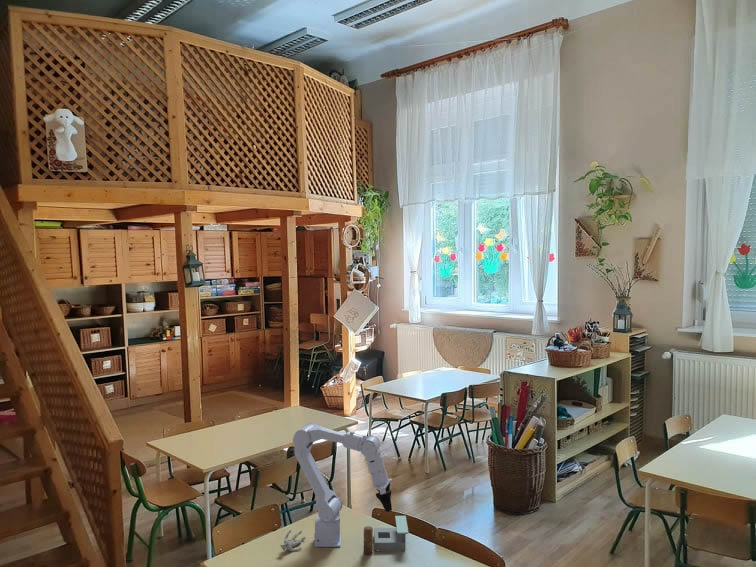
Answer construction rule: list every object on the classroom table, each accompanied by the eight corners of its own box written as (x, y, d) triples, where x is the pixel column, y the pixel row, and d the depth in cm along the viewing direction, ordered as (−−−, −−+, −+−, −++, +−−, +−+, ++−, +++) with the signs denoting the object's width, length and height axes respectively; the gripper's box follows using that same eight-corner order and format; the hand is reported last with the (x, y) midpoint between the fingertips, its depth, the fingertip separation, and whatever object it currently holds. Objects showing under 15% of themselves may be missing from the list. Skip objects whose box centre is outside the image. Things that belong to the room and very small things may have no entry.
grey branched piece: (310, 544, 204) (297, 550, 193) (300, 553, 204) (286, 559, 193) (298, 526, 207) (285, 530, 196) (289, 534, 207) (275, 539, 196)
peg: (363, 555, 195) (363, 530, 194) (363, 550, 198) (363, 526, 198) (372, 555, 195) (372, 530, 195) (372, 550, 198) (372, 526, 198)
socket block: (374, 552, 197) (375, 532, 197) (374, 534, 210) (374, 515, 210) (408, 552, 197) (408, 532, 197) (405, 534, 210) (405, 515, 210)
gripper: (389, 472, 191) (400, 511, 190) (387, 461, 205) (398, 497, 204) (369, 478, 190) (381, 517, 190) (369, 467, 205) (380, 503, 204)
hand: (388, 507), depth 197 cm, fingers open, 7 cm apart
